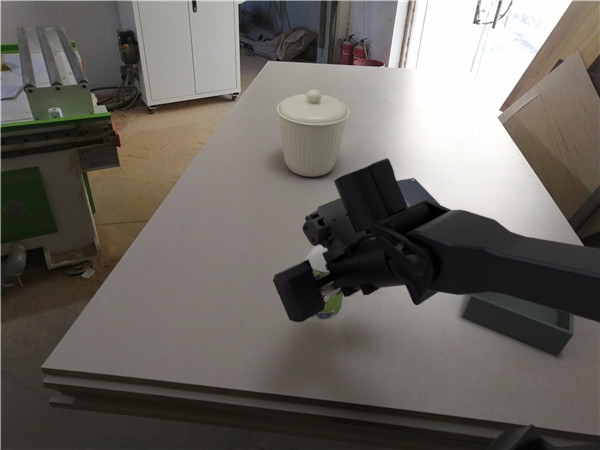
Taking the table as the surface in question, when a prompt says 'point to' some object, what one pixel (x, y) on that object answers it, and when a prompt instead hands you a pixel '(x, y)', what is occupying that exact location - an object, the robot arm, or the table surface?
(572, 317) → the open square box
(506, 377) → the table surface
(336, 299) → the beverage can
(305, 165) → the canister
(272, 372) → the table surface
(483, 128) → the table surface
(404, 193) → the small box
